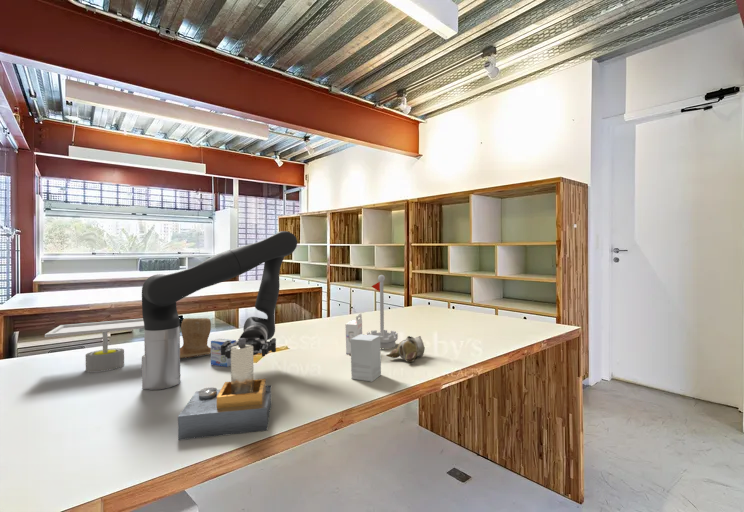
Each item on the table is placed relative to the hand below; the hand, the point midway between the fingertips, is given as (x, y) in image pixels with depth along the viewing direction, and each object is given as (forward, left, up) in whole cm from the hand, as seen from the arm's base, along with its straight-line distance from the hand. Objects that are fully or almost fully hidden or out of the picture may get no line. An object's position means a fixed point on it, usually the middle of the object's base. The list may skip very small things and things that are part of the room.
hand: (246, 353), depth 92 cm
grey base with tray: (-3, -8, -13) cm, 16 cm away
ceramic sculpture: (+53, +29, -14) cm, 62 cm away
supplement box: (+34, +14, -14) cm, 39 cm away
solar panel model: (-53, +45, -14) cm, 71 cm away
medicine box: (-13, +39, -14) cm, 43 cm away
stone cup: (-27, +53, -14) cm, 61 cm away
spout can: (0, -8, -8) cm, 11 cm away
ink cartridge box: (+35, +44, -14) cm, 58 cm away
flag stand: (+48, +50, -14) cm, 71 cm away
